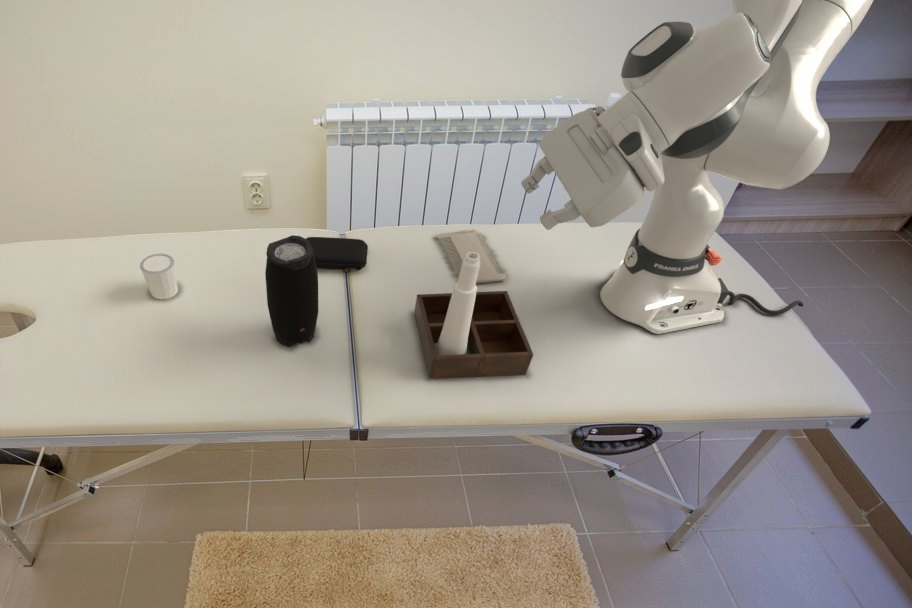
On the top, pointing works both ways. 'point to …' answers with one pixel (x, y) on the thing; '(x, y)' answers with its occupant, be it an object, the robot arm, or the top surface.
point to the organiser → (474, 337)
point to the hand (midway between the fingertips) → (533, 205)
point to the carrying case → (339, 253)
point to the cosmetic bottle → (460, 309)
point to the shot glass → (160, 275)
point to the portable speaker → (292, 290)
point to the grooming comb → (472, 242)
